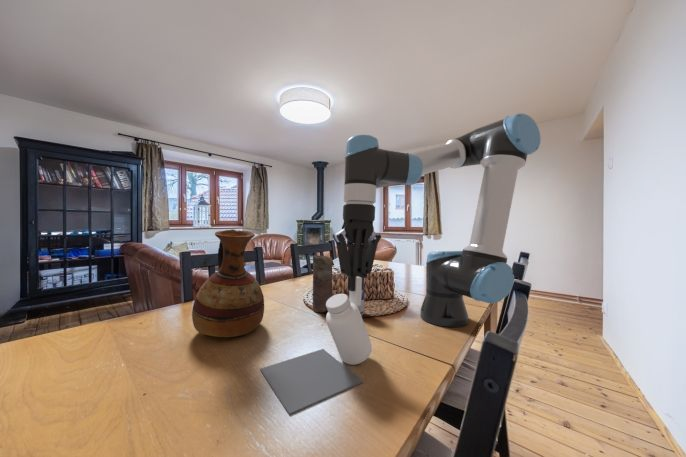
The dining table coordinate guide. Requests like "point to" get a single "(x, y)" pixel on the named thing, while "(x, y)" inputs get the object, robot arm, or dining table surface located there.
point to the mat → (308, 379)
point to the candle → (321, 282)
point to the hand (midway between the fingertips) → (354, 304)
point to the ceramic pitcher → (229, 292)
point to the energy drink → (361, 307)
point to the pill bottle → (348, 329)
